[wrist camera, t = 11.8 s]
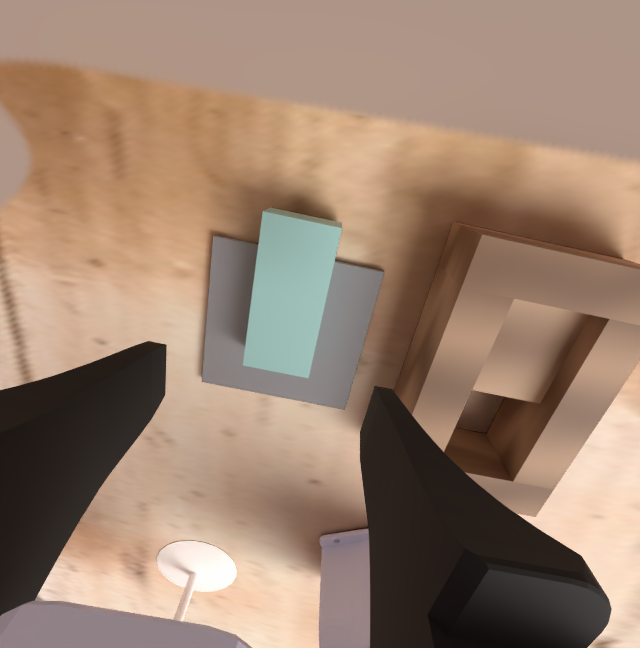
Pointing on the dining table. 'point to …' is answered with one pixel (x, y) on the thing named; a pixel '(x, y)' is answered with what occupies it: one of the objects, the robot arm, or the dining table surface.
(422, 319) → the walnut frame
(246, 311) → the grey mat
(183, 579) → the wineglass
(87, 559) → the dining table surface
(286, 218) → the teal block
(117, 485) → the dining table surface
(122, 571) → the dining table surface
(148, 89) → the dining table surface
